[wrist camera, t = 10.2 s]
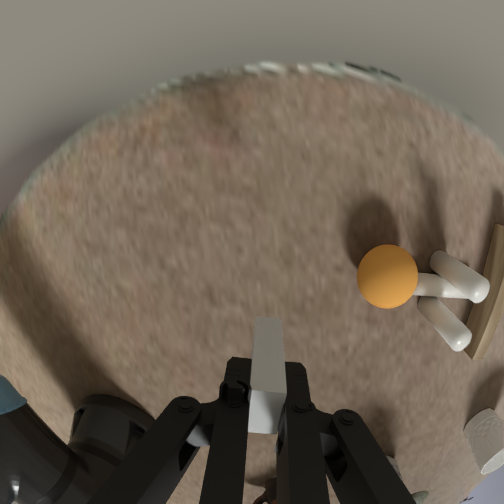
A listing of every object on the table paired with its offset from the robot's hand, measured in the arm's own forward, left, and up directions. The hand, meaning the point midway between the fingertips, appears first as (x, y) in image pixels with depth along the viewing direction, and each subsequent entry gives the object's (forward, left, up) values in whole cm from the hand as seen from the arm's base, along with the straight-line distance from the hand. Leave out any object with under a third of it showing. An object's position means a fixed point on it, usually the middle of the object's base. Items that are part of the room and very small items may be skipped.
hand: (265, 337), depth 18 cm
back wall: (+27, 0, -13) cm, 30 cm away
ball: (+11, +1, -10) cm, 15 cm away
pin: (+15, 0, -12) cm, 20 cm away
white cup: (+41, -25, -14) cm, 50 cm away
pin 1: (+19, +3, -13) cm, 23 cm away
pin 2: (+19, -2, -13) cm, 23 cm away
